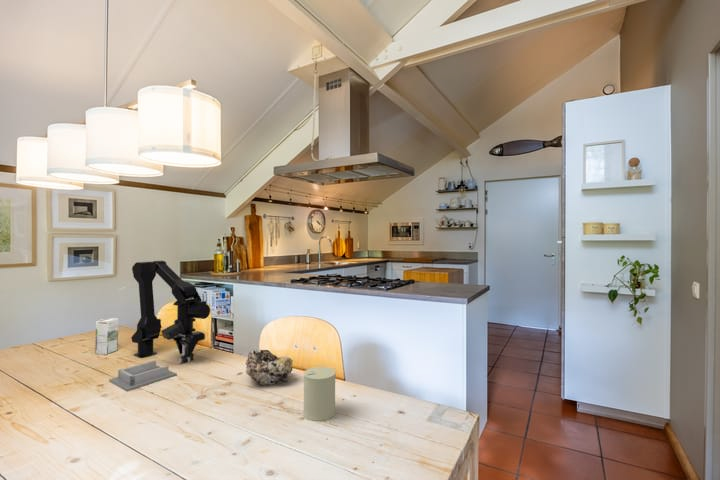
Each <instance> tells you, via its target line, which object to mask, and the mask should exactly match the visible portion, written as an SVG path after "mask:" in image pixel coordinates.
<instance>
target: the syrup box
mask: <svg viewBox="0 0 720 480" xmlns="http://www.w3.org/2000/svg"><path fill="white" fill-rule="evenodd" d="M119 320H120V319H119V318H116V317H106V318H102V319H98V320H95V347H94V348H95V349H94V351H95V355H109V354H112V353H114V352H117V351H118V350H119Z"/></svg>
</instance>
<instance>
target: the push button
mask: <svg viewBox="0 0 720 480" xmlns="http://www.w3.org/2000/svg"><path fill="white" fill-rule="evenodd" d="M179 341H180V344H182V354H181V355H180V356H179V360H177V362H178V364H186V363H188V362H190V361H193V360H194V353H193V352H192V354H191V356H190V357H187V351H186V344H185V343H183V342H182V341H186V340H185V336H183V337H182V338H181V339H180V340H179Z"/></svg>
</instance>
